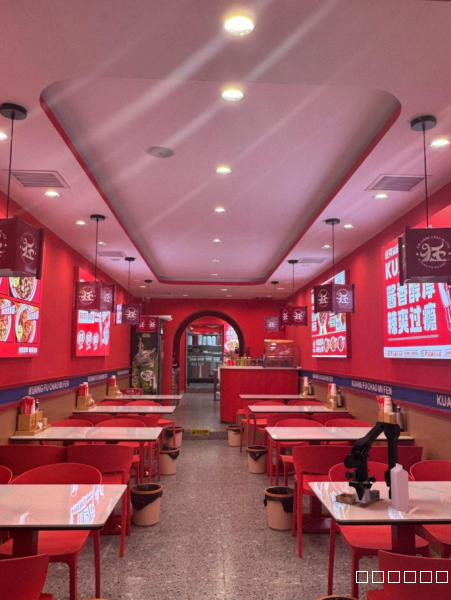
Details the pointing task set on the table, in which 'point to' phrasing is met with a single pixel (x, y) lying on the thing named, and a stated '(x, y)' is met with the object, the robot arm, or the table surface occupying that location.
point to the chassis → (351, 500)
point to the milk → (399, 489)
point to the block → (364, 496)
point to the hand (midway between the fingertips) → (362, 499)
